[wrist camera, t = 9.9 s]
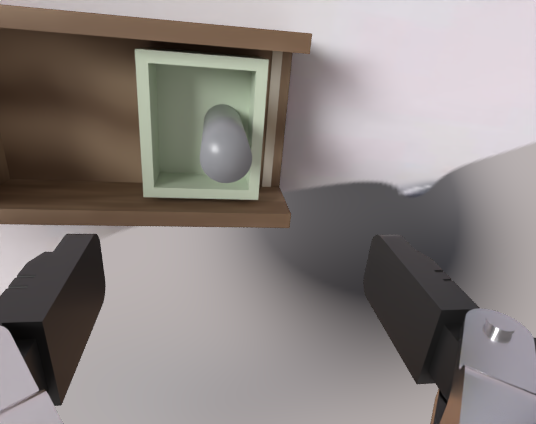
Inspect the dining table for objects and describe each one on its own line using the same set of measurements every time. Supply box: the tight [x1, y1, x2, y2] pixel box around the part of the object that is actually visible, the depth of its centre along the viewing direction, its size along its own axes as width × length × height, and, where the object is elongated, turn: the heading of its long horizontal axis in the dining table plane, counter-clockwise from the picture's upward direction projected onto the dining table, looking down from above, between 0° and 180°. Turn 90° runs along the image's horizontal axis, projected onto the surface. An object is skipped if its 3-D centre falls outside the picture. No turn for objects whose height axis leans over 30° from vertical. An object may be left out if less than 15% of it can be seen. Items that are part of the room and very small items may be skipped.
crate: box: [135, 47, 269, 200], centre depth 26 cm, size 10×9×11 cm
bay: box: [0, 5, 312, 228], centre depth 28 cm, size 14×24×7 cm, turn 85°
